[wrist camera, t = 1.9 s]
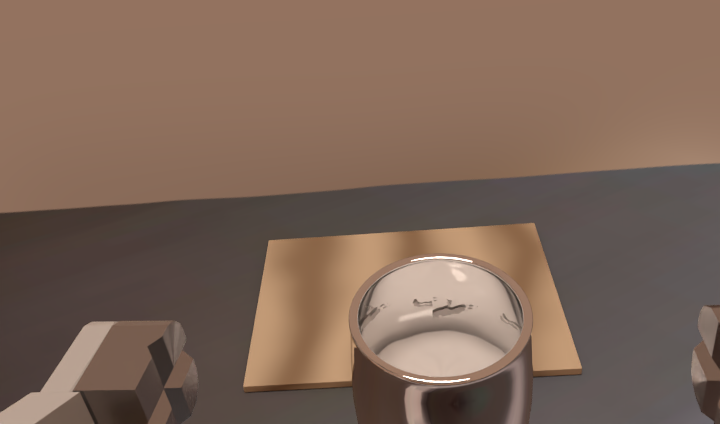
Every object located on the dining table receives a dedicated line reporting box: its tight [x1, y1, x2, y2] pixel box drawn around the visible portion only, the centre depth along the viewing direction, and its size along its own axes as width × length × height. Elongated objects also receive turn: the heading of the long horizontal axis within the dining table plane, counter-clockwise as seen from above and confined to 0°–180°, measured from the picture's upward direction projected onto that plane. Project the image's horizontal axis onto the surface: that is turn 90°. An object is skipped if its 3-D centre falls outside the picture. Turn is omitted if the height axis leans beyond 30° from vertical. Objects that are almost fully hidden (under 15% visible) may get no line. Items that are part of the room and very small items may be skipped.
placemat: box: [243, 223, 582, 392], centre depth 46 cm, size 20×14×1 cm
